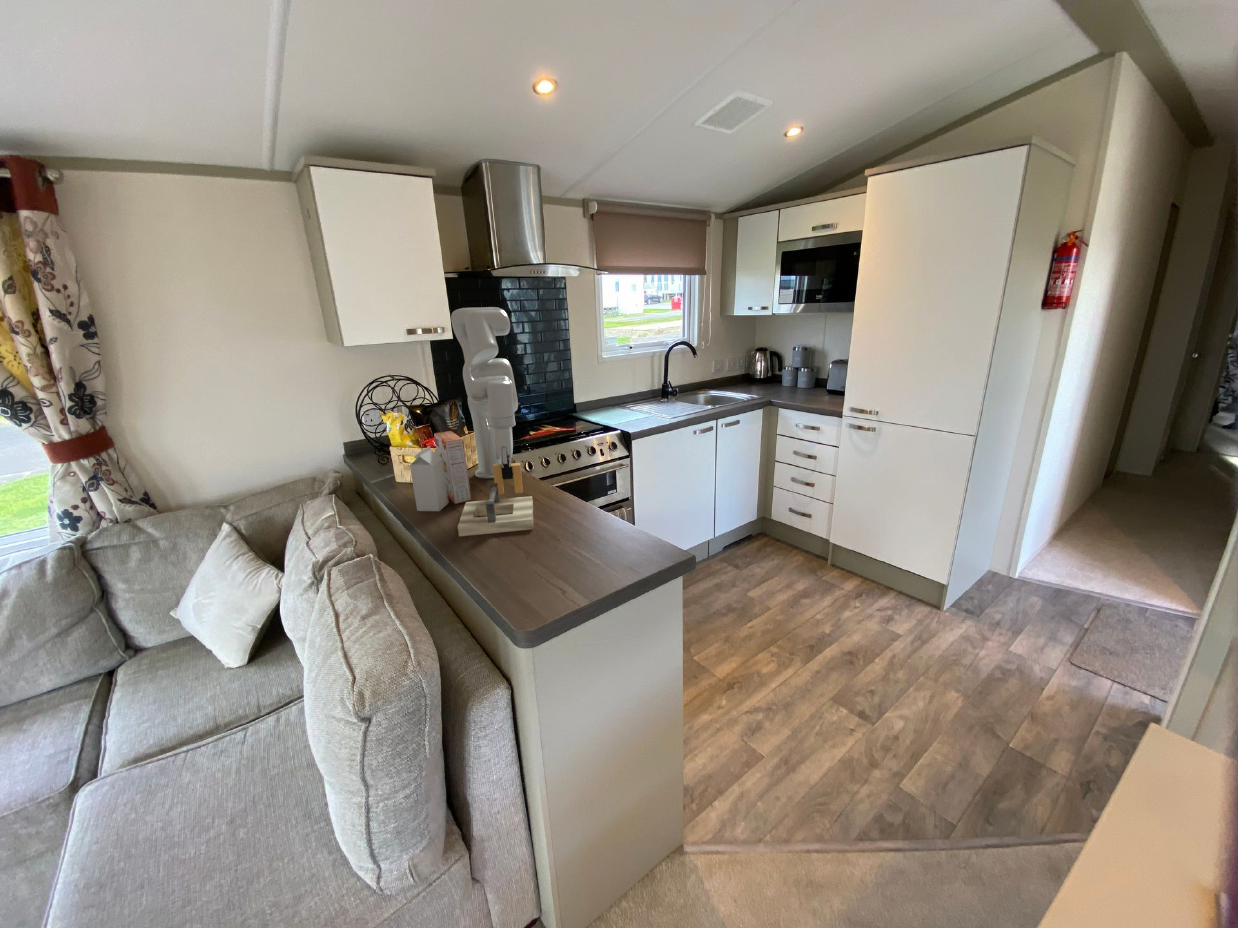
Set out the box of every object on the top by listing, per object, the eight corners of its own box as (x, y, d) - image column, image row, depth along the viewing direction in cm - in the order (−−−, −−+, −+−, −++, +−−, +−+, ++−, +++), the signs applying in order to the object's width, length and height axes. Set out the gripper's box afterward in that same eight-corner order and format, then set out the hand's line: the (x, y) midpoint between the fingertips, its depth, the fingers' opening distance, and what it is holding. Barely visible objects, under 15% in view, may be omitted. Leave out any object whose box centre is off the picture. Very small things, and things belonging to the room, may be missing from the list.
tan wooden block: (496, 492, 160) (493, 464, 157) (522, 489, 161) (520, 462, 158) (495, 494, 157) (492, 467, 154) (522, 492, 159) (520, 465, 156)
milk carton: (449, 503, 158) (440, 446, 153) (439, 511, 152) (430, 452, 146) (427, 503, 159) (418, 446, 153) (417, 511, 152) (407, 452, 147)
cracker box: (442, 492, 168) (433, 432, 162) (460, 488, 171) (451, 430, 165) (453, 505, 157) (444, 441, 150) (472, 500, 160) (463, 438, 153)
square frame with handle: (467, 511, 151) (463, 485, 149) (533, 505, 154) (530, 479, 152) (459, 536, 134) (454, 507, 132) (533, 529, 137) (530, 500, 135)
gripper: (491, 415, 158) (497, 469, 164) (487, 428, 143) (494, 487, 149) (515, 414, 159) (520, 467, 166) (514, 427, 144) (519, 485, 151)
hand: (508, 476), depth 157 cm, fingers closed on tan wooden block, 2 cm apart
